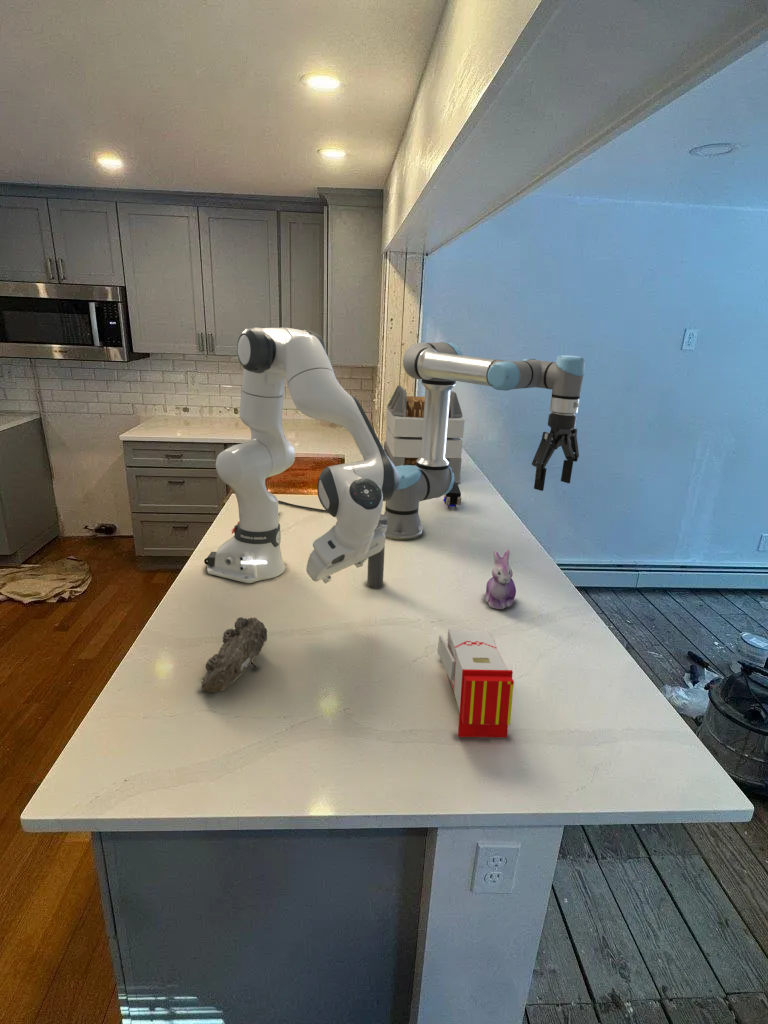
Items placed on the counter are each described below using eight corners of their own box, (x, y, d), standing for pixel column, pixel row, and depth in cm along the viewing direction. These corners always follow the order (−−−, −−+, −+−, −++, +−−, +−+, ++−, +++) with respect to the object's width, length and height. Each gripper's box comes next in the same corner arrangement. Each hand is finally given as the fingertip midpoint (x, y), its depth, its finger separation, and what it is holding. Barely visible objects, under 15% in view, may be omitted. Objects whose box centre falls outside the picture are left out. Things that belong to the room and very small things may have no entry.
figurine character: (461, 514, 225) (456, 498, 239) (463, 497, 222) (458, 482, 235) (444, 513, 225) (440, 498, 239) (446, 496, 222) (442, 481, 235)
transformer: (382, 463, 289) (386, 382, 275) (445, 464, 293) (451, 384, 279) (390, 482, 257) (394, 392, 243) (460, 483, 261) (468, 394, 247)
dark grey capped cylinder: (386, 584, 163) (389, 518, 156) (376, 589, 160) (378, 522, 153) (374, 579, 166) (376, 514, 159) (363, 584, 162) (366, 518, 156)
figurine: (497, 613, 149) (504, 562, 144) (474, 596, 158) (480, 547, 153) (525, 606, 154) (532, 556, 149) (501, 590, 162) (508, 542, 157)
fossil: (219, 620, 133) (266, 590, 128) (247, 647, 136) (294, 619, 131) (181, 686, 113) (234, 654, 108) (214, 717, 116) (267, 687, 111)
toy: (488, 613, 130) (523, 677, 101) (484, 667, 133) (517, 744, 104) (435, 612, 130) (455, 676, 101) (432, 666, 133) (451, 743, 103)
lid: (390, 525, 157) (391, 517, 156) (378, 530, 153) (379, 521, 152) (376, 520, 160) (376, 512, 159) (364, 525, 156) (364, 517, 155)
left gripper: (380, 512, 134) (369, 547, 144) (306, 544, 123) (299, 579, 133) (396, 531, 131) (383, 565, 141) (322, 565, 120) (313, 599, 131)
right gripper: (548, 419, 148) (537, 496, 155) (598, 411, 163) (586, 482, 171) (525, 414, 153) (515, 489, 160) (575, 407, 169) (564, 476, 176)
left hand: (342, 572), depth 137 cm, fingers open, 8 cm apart
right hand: (552, 485), depth 166 cm, fingers open, 13 cm apart
